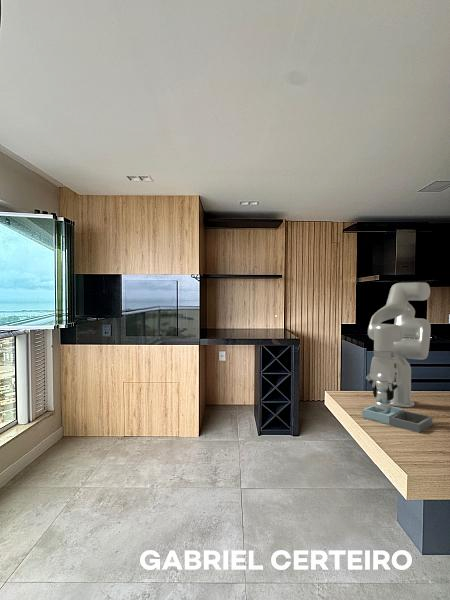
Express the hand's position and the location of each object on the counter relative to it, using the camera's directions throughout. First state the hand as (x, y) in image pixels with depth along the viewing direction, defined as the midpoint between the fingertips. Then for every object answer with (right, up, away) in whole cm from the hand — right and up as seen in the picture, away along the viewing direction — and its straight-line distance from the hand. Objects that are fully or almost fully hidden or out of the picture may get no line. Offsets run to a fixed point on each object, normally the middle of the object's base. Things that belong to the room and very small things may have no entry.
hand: (383, 397), depth 147 cm
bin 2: (+7, -8, -8) cm, 14 cm away
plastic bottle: (0, -7, 0) cm, 7 cm away
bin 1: (0, -8, 0) cm, 8 cm away
